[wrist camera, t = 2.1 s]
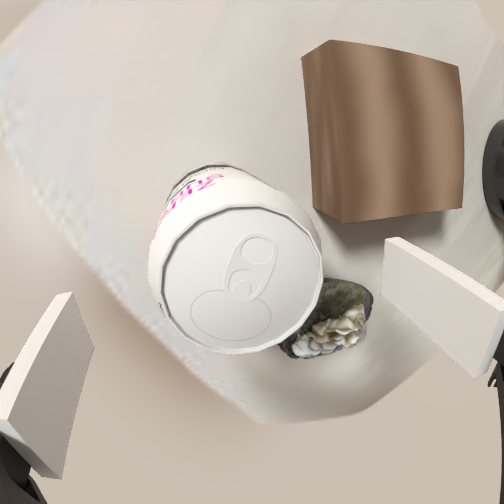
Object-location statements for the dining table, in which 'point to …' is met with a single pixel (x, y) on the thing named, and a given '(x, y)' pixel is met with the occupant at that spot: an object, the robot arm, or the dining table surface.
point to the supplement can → (234, 261)
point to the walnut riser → (382, 132)
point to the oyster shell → (331, 321)
